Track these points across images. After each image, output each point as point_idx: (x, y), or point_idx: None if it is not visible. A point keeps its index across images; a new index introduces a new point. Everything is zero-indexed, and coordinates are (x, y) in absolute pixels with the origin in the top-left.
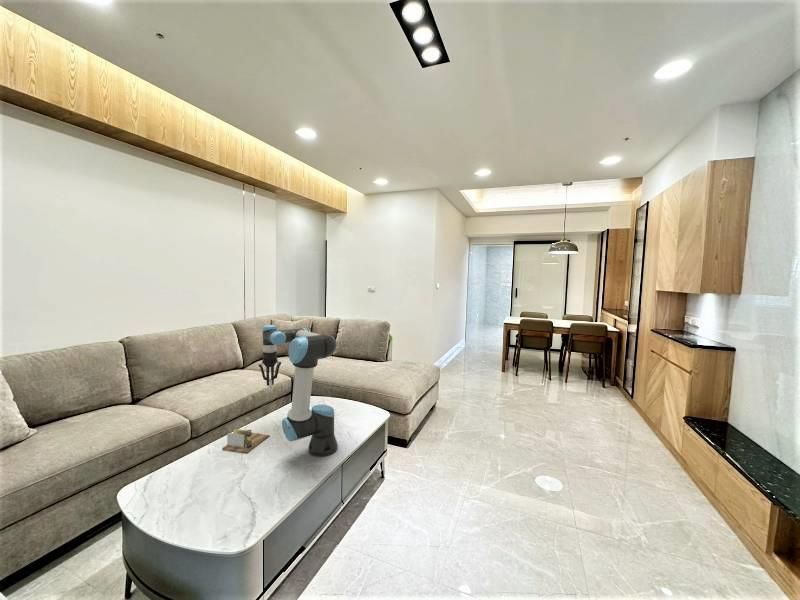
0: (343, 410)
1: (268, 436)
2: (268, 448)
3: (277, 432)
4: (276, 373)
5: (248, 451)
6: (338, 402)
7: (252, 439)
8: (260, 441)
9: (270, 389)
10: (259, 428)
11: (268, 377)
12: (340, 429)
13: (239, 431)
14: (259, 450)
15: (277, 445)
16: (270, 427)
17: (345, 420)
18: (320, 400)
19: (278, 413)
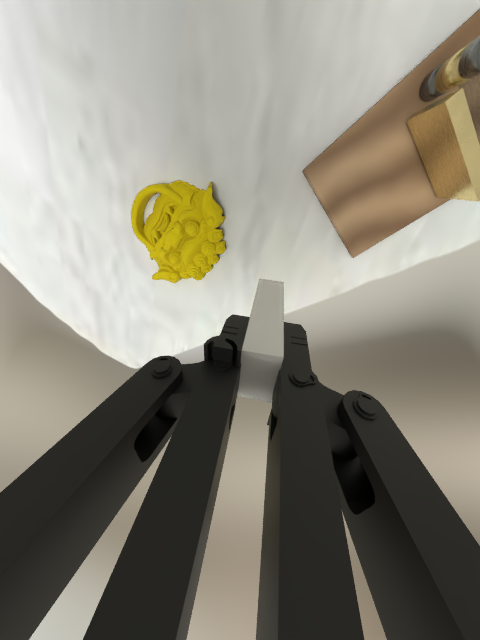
0: (35, 235)
1: (308, 165)
2: (365, 8)
3: (263, 194)
4: (99, 443)
5: (469, 18)
6: (58, 299)
7: (375, 170)
8: (362, 118)
9: (272, 288)
10: (300, 270)
11: (296, 412)
12: (16, 27)
13: (478, 156)
14: (410, 12)
15: (314, 22)
16: (269, 255)
17: (12, 134)
18: (107, 337)
19: (220, 331)
